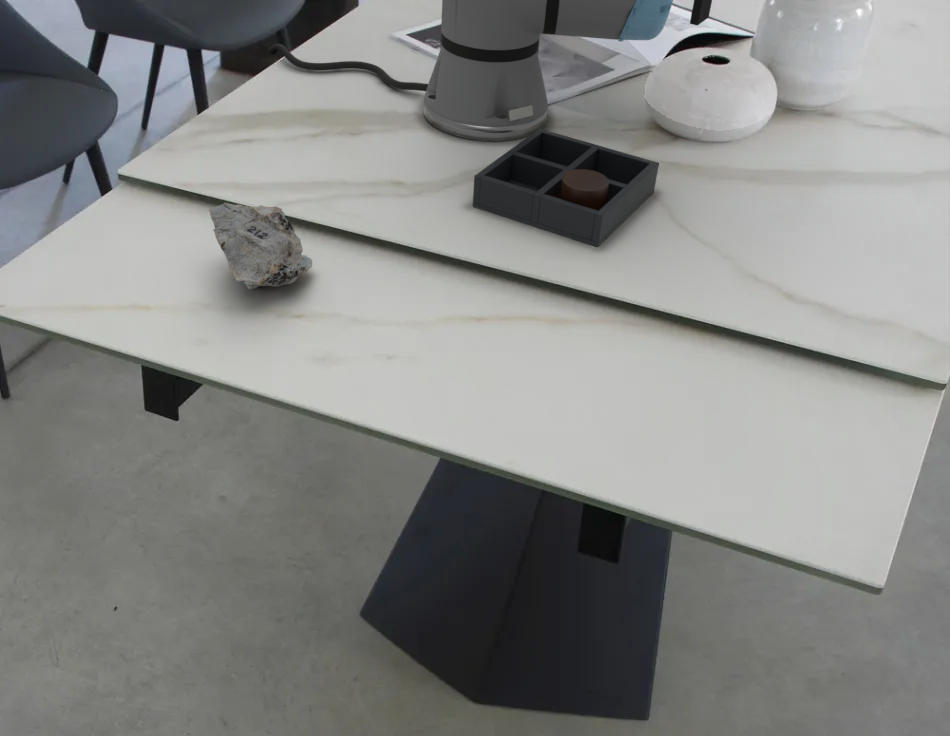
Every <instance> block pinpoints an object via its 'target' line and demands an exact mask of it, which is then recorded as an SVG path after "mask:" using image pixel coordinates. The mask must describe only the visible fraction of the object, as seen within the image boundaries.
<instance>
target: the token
mask: <svg viewBox="0 0 950 736" xmlns="http://www.w3.org/2000/svg"><path fill="white" fill-rule="evenodd" d="M608 186H609V180H608V178H607V177H606V176H604V175H603V174H601V173H599V172H596V171H592V170H585V169H578V170H572V171H569V172H567V173H565V174H564V175H563V177H562V185H561V194H560V199H562V200H565V201H568V202H572V203H575V204H578V205H581V206H585V207H588V208H591V209H594V210H597V211H599V210H600V209H601V208H602V207H603V206H605V205H606V200H607V193H608Z"/></svg>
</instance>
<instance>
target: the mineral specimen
mask: <svg viewBox="0 0 950 736" xmlns="http://www.w3.org/2000/svg"><path fill="white" fill-rule="evenodd" d="M208 210H209V215H210V219H211V221H212V223H213V227H214V228H213V229H212V230H213V233H214V236H215V239H216V241H217V243H218V245H219V248H220V249H221V251H222V252H223V254H224V256H225V258H226V260H227V264H228V266H229V271H230V273H231V275H232V276H233V279H234V281H235V282H236V283H240V282H243V284H244V285H245V286H246V289H247V290H248V291H251V290H254V289H256V288H259V287H264V286H265V287H266V286H268V287H269V286H270V287H281V286H284V285H285V286H286V285H290V284H293V283H295V282H296V281H297V279H298V278H299V277H300V276H302V275H304V273H307V272H308V271H309V270H310V269H311V268H313V259H312V258H310V257H309V256H308V255H306V254H305V255H304V254H302V253H303V252H304V248H303V245H302V242H301V238H300V237H299V236H298V235H297V233H296V229H295V228H294V226H292V223H291V222H290V221H289V220H288V219H287V218H286V216H285V215H286V214H285V212H284V210H283V208H280V207H278V206H264V205H262V204H261V205H260V204H259V205H258V206H248V205H247V206H246V205H242V204H233V203H228V202H223V203H222V204H219V205H217V206H212V207H210V208H208Z"/></svg>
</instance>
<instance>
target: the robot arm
mask: <svg viewBox="0 0 950 736" xmlns="http://www.w3.org/2000/svg"><path fill="white" fill-rule="evenodd" d="M673 1H674V0H442V1H441V26H440V48H439V53H438V55H437V58H436V61H435V64H434V67H433V70H432V72H431V75H430V78H429V81H428V83H423V82H414V81H400V80H397V79H395V78H393V77H391V76H390V75H389V74H388V73H387V72H386V71H385V70H384V69H383V68H381V66H377V65H376V64H373V63H370V62H366V61H358V60H357V61H356V60H345V61H344V60H343V61H331V62H309V61H303V60H301V59H299V58H297V57H296V56H294V55H293V54H292V53H291V51H290V50H289V49H288V48H287V47H286V46H285V45H284V44H281V43H274V44H273V45H271V46H270V47H269V48H268V50H267V54H269V55H275V54H276V53H277V52H279V53H281V54H282V56H284V58H285V59H286V60H287V61H288V62H289V63H290V64H292V65H293V66H294V67H296V68H299V69H302V70H306V71H307V70H309V71H333V70H334V71H335V70H346V69H357V70H364V71H368V72H371V73H374V74H376V75H377V76H378V77H379V78H380V79H381V80H382V81H383V82H384V83H385V84H387V85H388V86H390V87H391V88H394V89H398V90H403V91H420V92H425V94H424V97H423V115H424V118H425V119H426V120H427V121H428V123H429V124H431V125H432V126H433V127H435V128H437V129H438V130H440V131H443V132H444V133H447V134H449V135H453V136H456V137H459V138H460V137H461V138H465V139H470V140H479V141H508V140H516V139H520V138H524V137H525V138H526V137H528V136H530V135H531V134H532V133H534V132H535V131H537V130H538V129H543V127H544V126H545V125H546V124H547V121H548V111H549V102H548V97H547V91H546V87H545V82H544V77H543V72H542V67H541V62H540V59H539V58H540V57H539V49H540V37H541V35H553V36H562V37H563V36H565V37H575V38H576V37H577V38H590V39H591V38H592V39H601V40H602V39H603V40H616V41H618V42H623V41H651V40H654V39H655V38H657V37H658V36H659V35H660V34H661V33H662V32H663V29H664V28H665V26H666V23H667V20H668V18H669V15H670V12H671V8H672V5H673V3H674V2H673ZM712 2H713V0H693V4H692V10H691V15H690V19H689V24H690V25H693V26H700V25H701V23H703V22H705V21H706V20H707V19H708V18H709V17H710V14H711V8H712Z"/></svg>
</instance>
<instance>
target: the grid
mask: <svg viewBox="0 0 950 736" xmlns="http://www.w3.org/2000/svg"><path fill="white" fill-rule="evenodd" d="M659 167H660V162H658V161H654V160H650V159H647V158H644V157H640V156H637V155H633V154H630V153H626V152H622V151H619V150H616V149H613V148H610V147H606V146H602V145H598V144H595V143H592V142H588V141H585V140H582V139H578V138H574V137H570V136H568V135H564V134H560V133H557V132H554V131H551V130H546V129H543V128H541V129H538V130H537V131H535V132H534V133H532V134H530V135H528V136H526V137H525V138H523V140H522V141H520V142H519V143H516V145H515V146H512V148H510V149H509V150H507V151H506V152H505V153H503V154H502V155H501V156H500V157H498V158H497V159H496V160H494V161H492V163H490V164H489V165H487V166H486V167H484V168H483V169H482V170H480V171H479V172H478V173H476V174H475V175H473V177H474V178H473V193H472V194H473V195H472V207H473V208H477V209H480V210H483V211H486V212H489V213H492V214H495V215H498V216H502V217H504V218H508V219H510V220H514V221H517V222H520V223H522V224H525V225H529V226H531V227H535V228H539V229H541V230H544V231H546V232H550V233H553V234H557V235H560V236H563V237H566V238H569V239H571V240H575V241H578V242H581V243H585V244H587V245H591V246H594V247H599V246H601V245H602V244H603V243H604V242H605V241H606V240H607V239H608V238H609V237H610V236H611V235H612V234H613V233H614V232H615V231H616V230H617V229H618V228H619V227H620V226H621V225H623V223H624V222H625V221H627V219H628V218H629V217H630V216H631V215H633V213H635V211H637V209H638V208H639V207H641V205H643V204H644V203H645V202H646V201H647V200H648V199H649V198H650V197H651V196H652V195H653V194H654V193H655V188H656V183H657V177H658V171H659ZM578 169H585V170H592V171H596V172H599V173H601V174H603V175H604V176H606V177H607V178H608V180H609V186H608V193H607V200H606V205H605V206H603V207H602V208H601V209H600V210H599V211H597V210H594V209H591V208H588V207H585V206H581V205H578V204H575V203H572V202H568V201H565V200H562V199H560V194H561V185H562V177H563V175H564V174H565V173H567V172H569V171H572V170H578Z"/></svg>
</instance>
